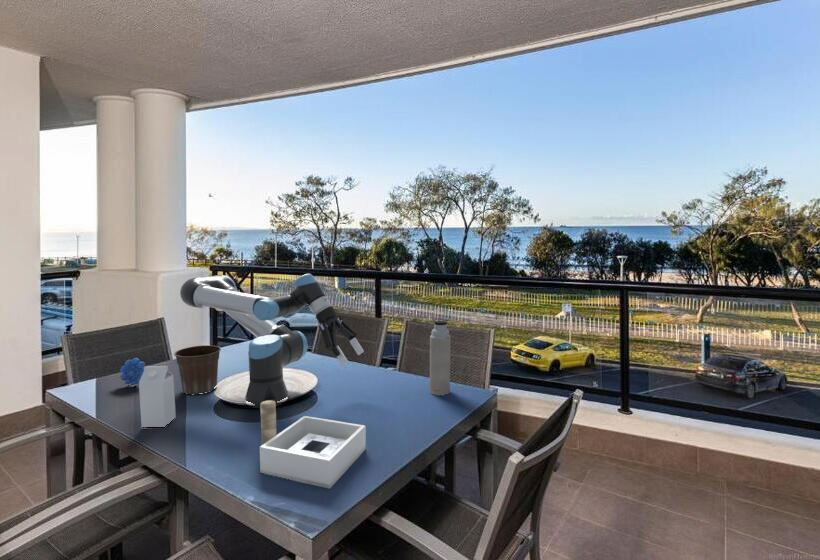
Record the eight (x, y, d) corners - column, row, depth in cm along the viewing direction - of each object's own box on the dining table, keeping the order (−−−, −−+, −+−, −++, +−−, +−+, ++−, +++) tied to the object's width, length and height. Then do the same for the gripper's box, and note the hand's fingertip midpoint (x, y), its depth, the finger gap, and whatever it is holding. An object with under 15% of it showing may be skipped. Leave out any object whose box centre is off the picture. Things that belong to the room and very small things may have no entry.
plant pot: (199, 400, 154) (197, 357, 153) (166, 395, 159) (164, 353, 158) (231, 385, 170) (229, 347, 168) (200, 381, 175) (198, 343, 173)
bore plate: (283, 464, 108) (283, 453, 108) (308, 443, 119) (308, 433, 119) (323, 472, 104) (323, 461, 104) (346, 450, 115) (346, 439, 115)
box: (260, 473, 106) (259, 446, 105) (304, 438, 124) (304, 415, 124) (329, 488, 99) (329, 460, 98) (365, 449, 118) (365, 425, 117)
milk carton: (153, 419, 137) (150, 363, 136) (175, 418, 138) (173, 362, 136) (141, 429, 130) (137, 370, 129) (165, 428, 131) (161, 369, 129)
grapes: (155, 384, 171) (153, 355, 170) (142, 389, 165) (140, 360, 164) (130, 382, 173) (128, 354, 172) (116, 388, 166) (114, 358, 165)
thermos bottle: (425, 392, 162) (426, 322, 160) (436, 386, 169) (436, 318, 166) (443, 397, 158) (444, 324, 155) (453, 391, 164) (454, 321, 162)
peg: (258, 453, 115) (257, 404, 114) (268, 446, 119) (266, 399, 118) (270, 456, 114) (269, 406, 113) (279, 449, 118) (278, 401, 117)
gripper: (312, 310, 145) (344, 361, 143) (345, 301, 169) (374, 345, 166) (297, 321, 148) (329, 372, 145) (332, 310, 171) (360, 354, 169)
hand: (353, 358), depth 156 cm, fingers open, 13 cm apart
